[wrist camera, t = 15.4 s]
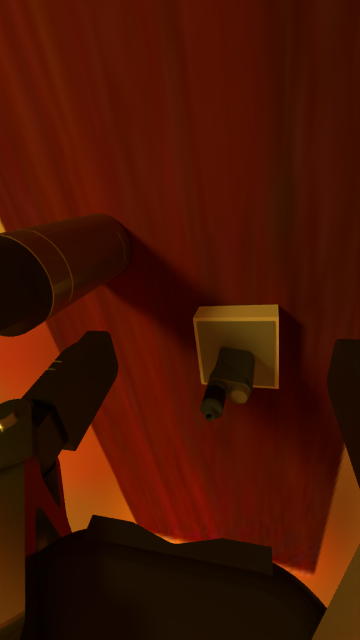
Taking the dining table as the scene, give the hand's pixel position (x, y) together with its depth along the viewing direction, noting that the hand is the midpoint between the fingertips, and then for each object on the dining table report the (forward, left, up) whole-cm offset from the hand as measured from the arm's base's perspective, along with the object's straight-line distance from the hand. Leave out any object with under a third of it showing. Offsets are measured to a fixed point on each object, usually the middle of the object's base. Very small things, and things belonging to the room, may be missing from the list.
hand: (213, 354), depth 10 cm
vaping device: (-3, -16, -25) cm, 30 cm away
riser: (-3, -16, -29) cm, 33 cm away
